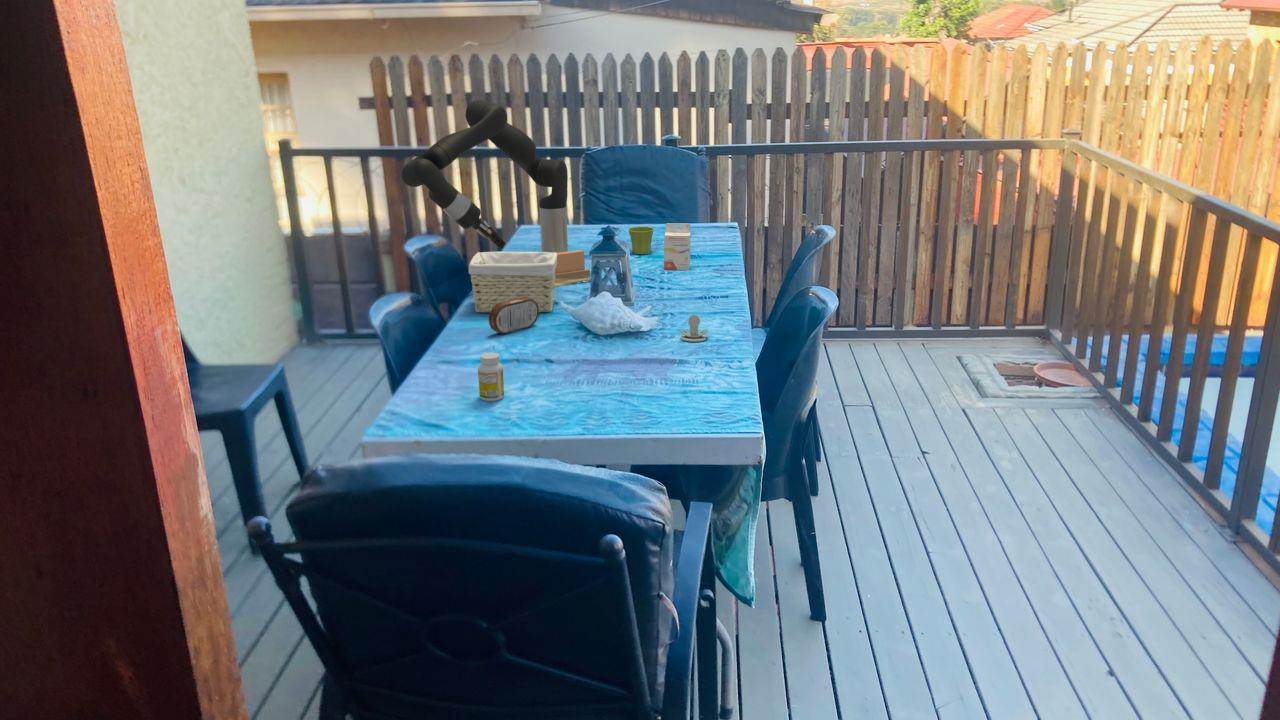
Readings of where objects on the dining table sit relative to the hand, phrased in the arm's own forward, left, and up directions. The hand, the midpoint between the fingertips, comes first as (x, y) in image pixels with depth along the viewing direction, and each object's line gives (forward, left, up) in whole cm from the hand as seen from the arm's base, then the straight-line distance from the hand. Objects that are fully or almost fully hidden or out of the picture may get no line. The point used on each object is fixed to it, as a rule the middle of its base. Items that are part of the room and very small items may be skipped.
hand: (502, 245), depth 291 cm
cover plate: (0, +20, -14) cm, 24 cm away
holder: (0, +19, -13) cm, 23 cm away
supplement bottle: (+84, -36, -14) cm, 93 cm away
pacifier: (+72, +23, -14) cm, 77 cm away
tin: (+41, -13, -14) cm, 45 cm away
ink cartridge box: (+5, +59, -14) cm, 60 cm away
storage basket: (+20, -5, -14) cm, 25 cm away
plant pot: (-21, +60, -14) cm, 65 cm away
